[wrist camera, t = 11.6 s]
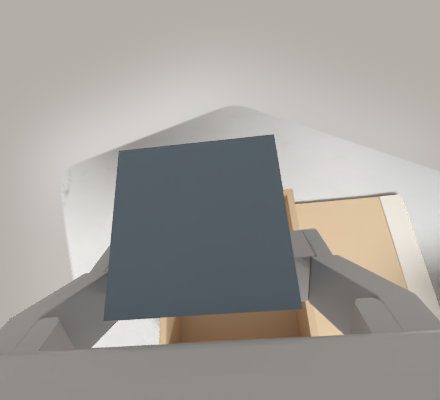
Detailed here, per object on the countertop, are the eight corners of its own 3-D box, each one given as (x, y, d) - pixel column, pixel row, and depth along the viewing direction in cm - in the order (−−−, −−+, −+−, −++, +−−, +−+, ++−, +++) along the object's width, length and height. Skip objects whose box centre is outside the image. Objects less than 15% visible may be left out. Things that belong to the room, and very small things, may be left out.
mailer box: (398, 195, 28) (432, 175, 23) (445, 332, 24) (501, 345, 18) (176, 215, 30) (162, 201, 25) (176, 347, 25) (159, 362, 20)
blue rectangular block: (258, 214, 14) (273, 134, 7) (268, 296, 13) (302, 309, 5) (183, 221, 15) (119, 150, 7) (183, 302, 13) (103, 321, 6)
